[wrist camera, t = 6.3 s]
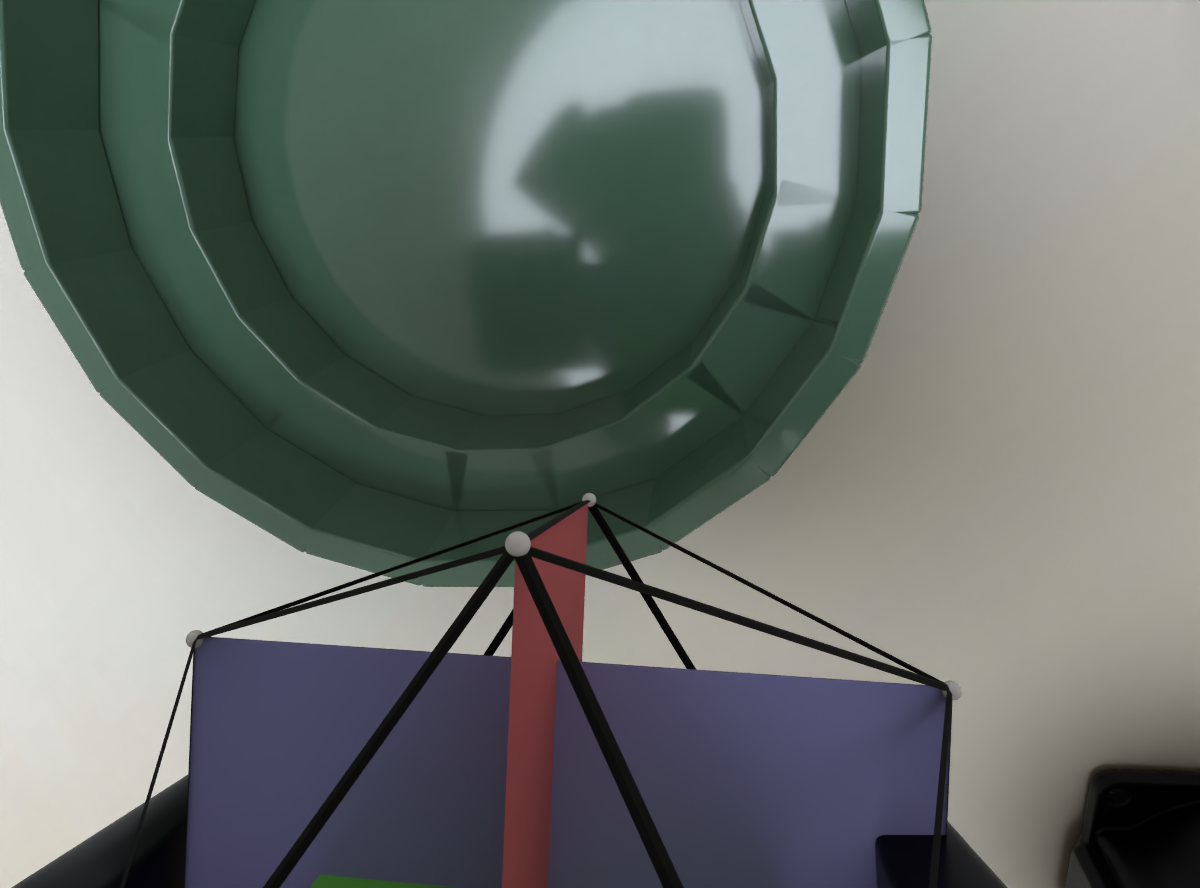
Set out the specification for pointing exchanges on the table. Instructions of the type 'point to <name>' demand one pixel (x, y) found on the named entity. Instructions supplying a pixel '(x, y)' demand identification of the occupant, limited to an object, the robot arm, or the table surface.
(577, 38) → the bowl
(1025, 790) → the table surface
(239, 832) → the geometric puzzle
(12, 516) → the table surface
